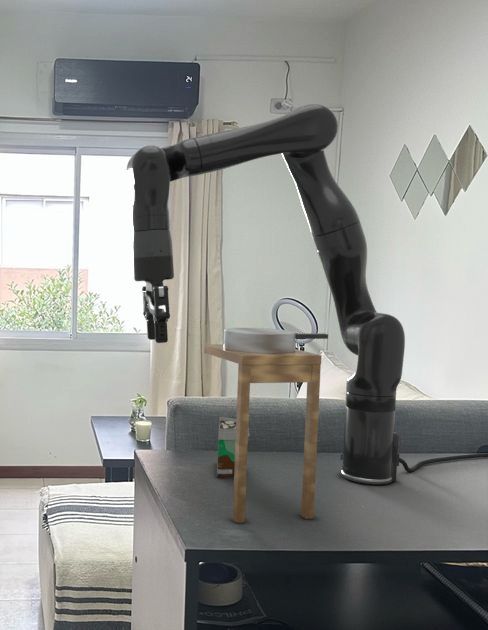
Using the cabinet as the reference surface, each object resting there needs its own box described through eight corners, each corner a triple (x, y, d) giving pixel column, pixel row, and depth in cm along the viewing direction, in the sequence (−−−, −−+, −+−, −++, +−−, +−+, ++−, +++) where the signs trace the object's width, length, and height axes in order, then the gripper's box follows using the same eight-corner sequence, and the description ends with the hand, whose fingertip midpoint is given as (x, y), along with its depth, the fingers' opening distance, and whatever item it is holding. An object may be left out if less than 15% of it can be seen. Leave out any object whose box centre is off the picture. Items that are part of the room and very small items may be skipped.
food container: (249, 482, 145) (251, 431, 144) (217, 479, 146) (219, 429, 145) (247, 465, 157) (249, 418, 156) (217, 463, 158) (219, 416, 157)
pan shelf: (297, 488, 141) (304, 327, 139) (345, 517, 126) (353, 335, 123) (199, 492, 137) (204, 326, 135) (236, 523, 122) (243, 335, 119)
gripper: (180, 252, 133) (185, 342, 134) (165, 255, 148) (169, 337, 148) (138, 254, 133) (143, 345, 134) (127, 257, 147) (132, 339, 148)
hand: (157, 341), depth 141 cm, fingers open, 8 cm apart
